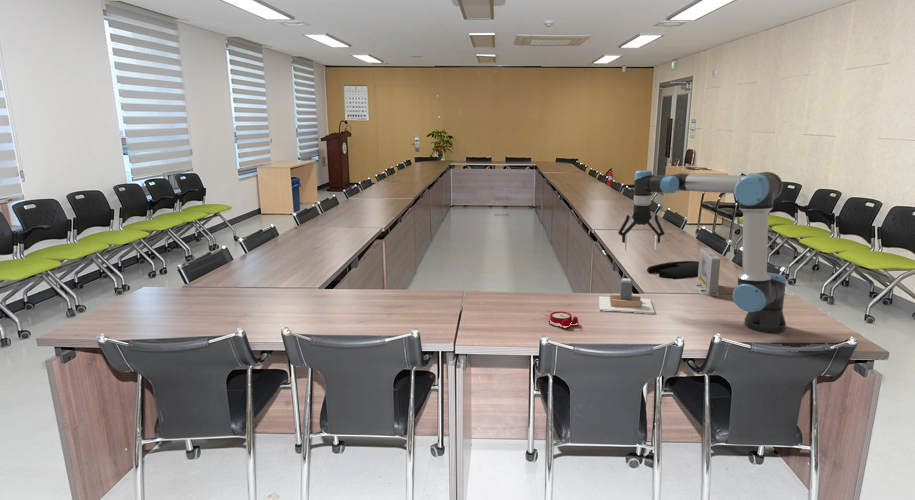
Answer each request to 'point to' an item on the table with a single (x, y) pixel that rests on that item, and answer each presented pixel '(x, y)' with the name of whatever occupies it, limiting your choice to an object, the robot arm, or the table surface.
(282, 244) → the table surface
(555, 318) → the alarm clock
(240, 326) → the table surface
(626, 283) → the connector plug
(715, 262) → the network device
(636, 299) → the end holder
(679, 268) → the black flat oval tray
